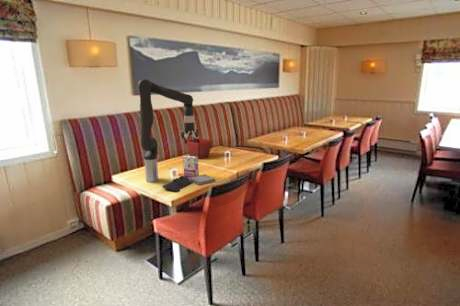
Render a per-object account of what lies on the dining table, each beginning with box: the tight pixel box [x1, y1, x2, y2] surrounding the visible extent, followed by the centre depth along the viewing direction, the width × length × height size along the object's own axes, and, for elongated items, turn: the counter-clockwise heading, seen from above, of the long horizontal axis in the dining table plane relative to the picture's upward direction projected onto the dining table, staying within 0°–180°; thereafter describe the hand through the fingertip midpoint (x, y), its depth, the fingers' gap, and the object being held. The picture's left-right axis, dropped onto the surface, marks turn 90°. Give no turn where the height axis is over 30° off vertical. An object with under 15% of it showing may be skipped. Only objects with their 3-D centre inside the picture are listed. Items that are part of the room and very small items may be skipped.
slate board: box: [188, 174, 216, 186], centre depth 221 cm, size 14×14×2 cm
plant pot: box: [185, 138, 213, 160], centre depth 291 cm, size 19×19×17 cm
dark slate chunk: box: [162, 175, 194, 192], centre depth 212 cm, size 15×22×5 cm
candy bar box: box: [182, 155, 200, 178], centre depth 229 cm, size 11×5×16 cm, turn 61°
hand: (190, 143), depth 225 cm, fingers open, 6 cm apart
